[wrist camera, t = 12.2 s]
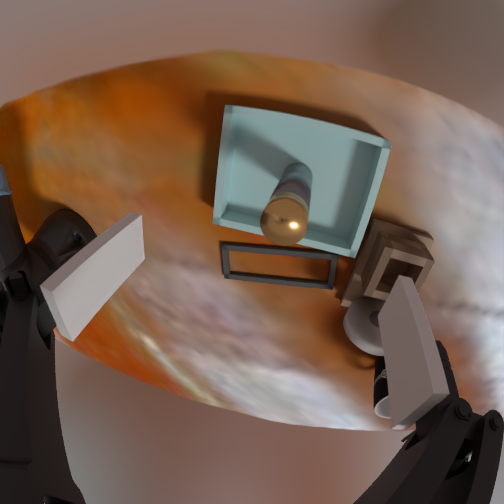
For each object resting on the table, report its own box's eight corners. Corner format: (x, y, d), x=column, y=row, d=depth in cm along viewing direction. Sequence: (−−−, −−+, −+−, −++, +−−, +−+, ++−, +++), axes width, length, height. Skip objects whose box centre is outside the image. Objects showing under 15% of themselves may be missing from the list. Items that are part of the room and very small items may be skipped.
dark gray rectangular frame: (225, 276, 36) (224, 278, 36) (222, 242, 34) (221, 244, 34) (332, 287, 34) (332, 289, 33) (337, 253, 31) (338, 255, 31)
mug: (384, 328, 35) (392, 386, 27) (432, 334, 34) (447, 388, 25) (356, 374, 41) (355, 425, 33) (400, 378, 40) (404, 426, 31)
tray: (221, 213, 32) (212, 223, 29) (234, 104, 25) (224, 104, 23) (352, 244, 30) (355, 258, 27) (384, 137, 23) (392, 141, 21)
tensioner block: (340, 300, 34) (341, 353, 27) (372, 217, 28) (389, 261, 20) (392, 312, 33) (403, 363, 26) (431, 236, 27) (459, 281, 19)
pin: (281, 186, 28) (256, 239, 18) (286, 159, 26) (263, 196, 16) (309, 193, 28) (301, 250, 18) (315, 166, 26) (312, 208, 16)
